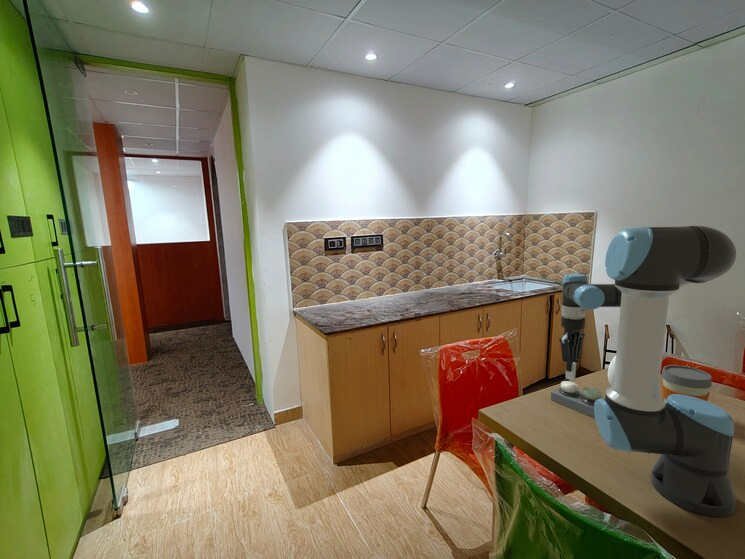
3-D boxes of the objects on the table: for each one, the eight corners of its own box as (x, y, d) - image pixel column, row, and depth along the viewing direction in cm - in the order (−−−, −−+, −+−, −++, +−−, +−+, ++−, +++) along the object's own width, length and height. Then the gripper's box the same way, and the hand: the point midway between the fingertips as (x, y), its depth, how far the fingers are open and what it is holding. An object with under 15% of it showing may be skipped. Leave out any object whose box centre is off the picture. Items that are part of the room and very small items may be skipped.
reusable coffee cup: (717, 425, 111) (723, 381, 109) (672, 422, 114) (676, 379, 112) (690, 405, 124) (695, 365, 121) (650, 403, 126) (654, 363, 124)
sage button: (596, 401, 119) (597, 395, 119) (579, 395, 124) (580, 389, 124) (604, 396, 122) (605, 391, 122) (588, 390, 127) (588, 385, 126)
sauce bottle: (602, 388, 138) (605, 344, 136) (614, 383, 142) (617, 341, 139) (623, 396, 131) (627, 351, 129) (635, 391, 135) (639, 347, 132)
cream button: (572, 394, 126) (573, 389, 126) (557, 388, 131) (557, 383, 130) (581, 390, 129) (581, 385, 129) (565, 384, 134) (566, 379, 133)
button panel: (623, 429, 111) (623, 419, 111) (550, 399, 131) (551, 390, 131) (637, 419, 116) (637, 409, 116) (565, 392, 136) (565, 383, 136)
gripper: (573, 321, 119) (570, 387, 122) (593, 315, 126) (590, 377, 129) (552, 317, 125) (550, 379, 128) (572, 312, 132) (569, 371, 135)
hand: (570, 378), depth 129 cm, fingers closed
